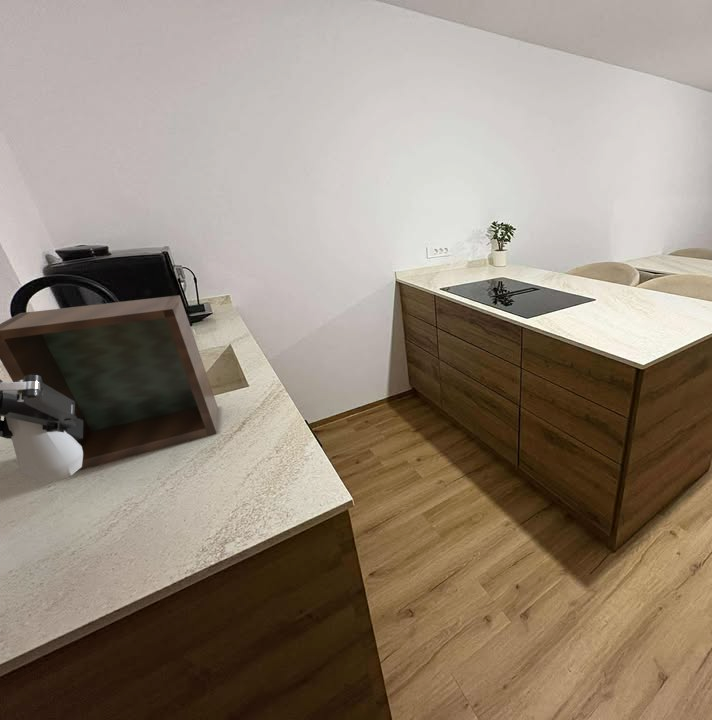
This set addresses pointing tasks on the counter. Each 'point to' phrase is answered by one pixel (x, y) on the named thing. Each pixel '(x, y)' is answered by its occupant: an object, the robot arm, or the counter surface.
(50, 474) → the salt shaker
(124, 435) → the brown wooden box
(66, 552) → the counter surface
